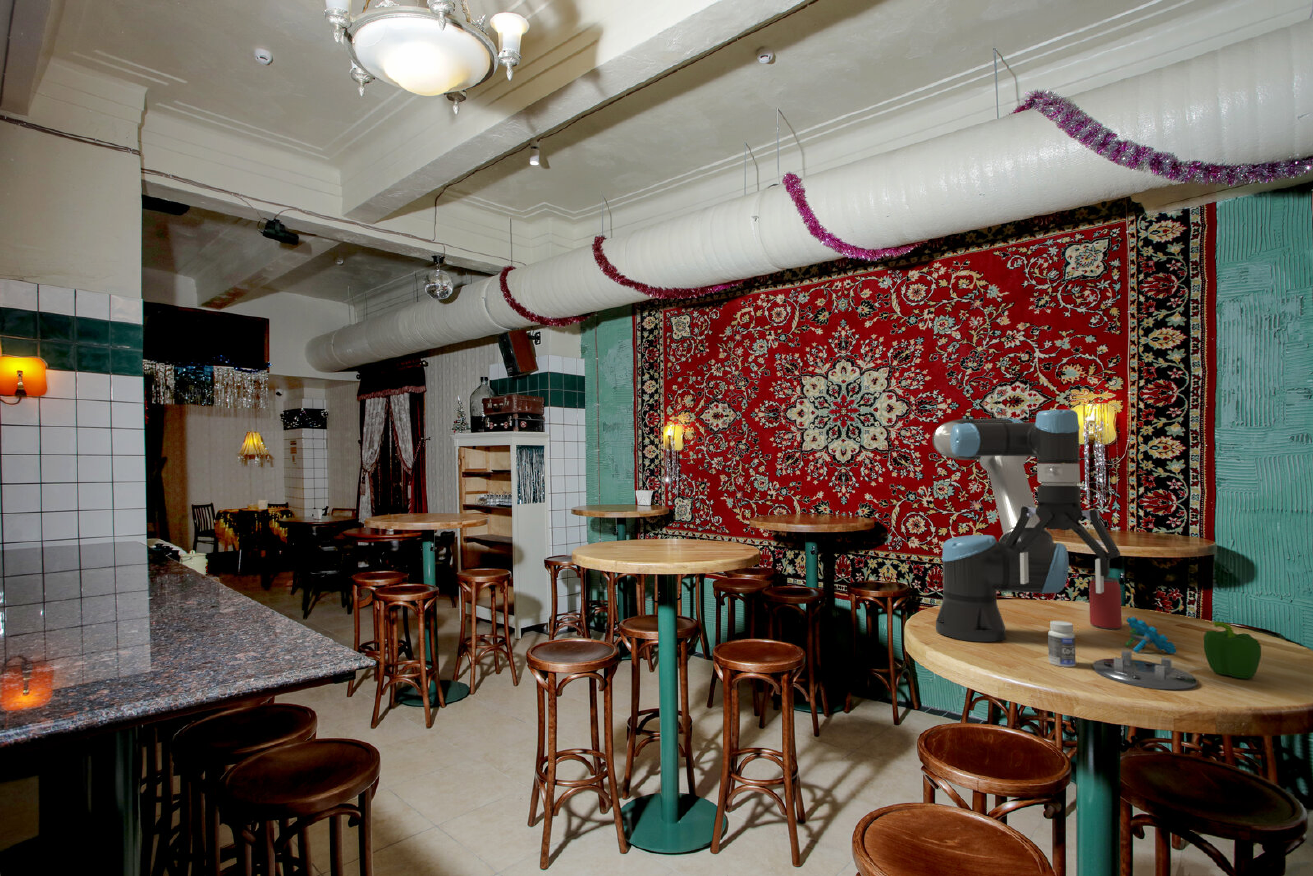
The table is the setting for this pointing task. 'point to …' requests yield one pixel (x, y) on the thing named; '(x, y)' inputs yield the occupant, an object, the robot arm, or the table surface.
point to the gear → (1147, 637)
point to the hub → (1145, 673)
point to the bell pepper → (1232, 652)
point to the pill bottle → (1061, 644)
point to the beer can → (1105, 604)
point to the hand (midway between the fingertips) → (1060, 587)
